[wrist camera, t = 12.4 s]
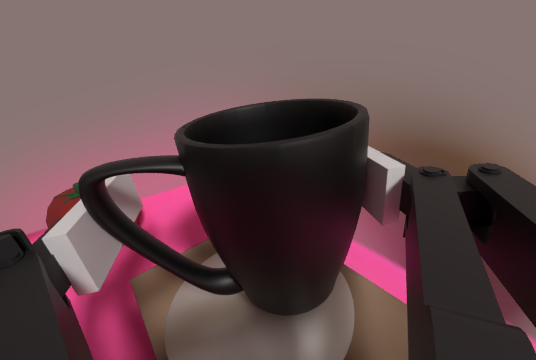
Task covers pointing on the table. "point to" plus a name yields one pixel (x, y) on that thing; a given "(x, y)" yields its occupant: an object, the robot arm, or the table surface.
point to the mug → (258, 199)
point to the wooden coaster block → (268, 320)
